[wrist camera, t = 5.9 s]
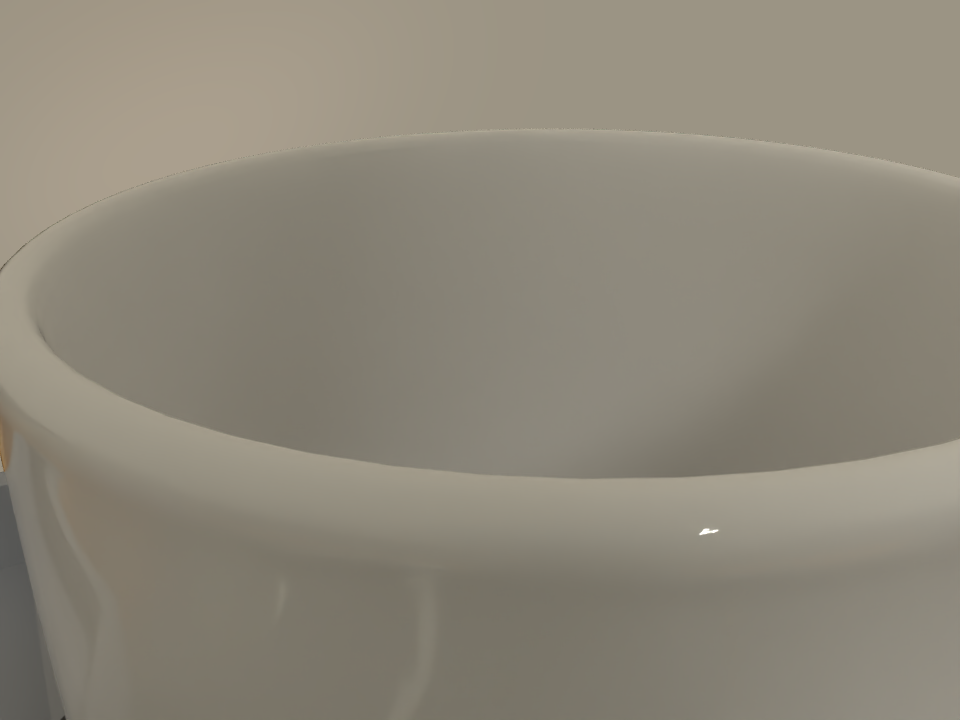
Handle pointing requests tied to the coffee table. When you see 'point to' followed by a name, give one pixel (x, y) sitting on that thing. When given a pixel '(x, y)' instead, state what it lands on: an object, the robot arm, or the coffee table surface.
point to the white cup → (495, 433)
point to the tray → (21, 633)
